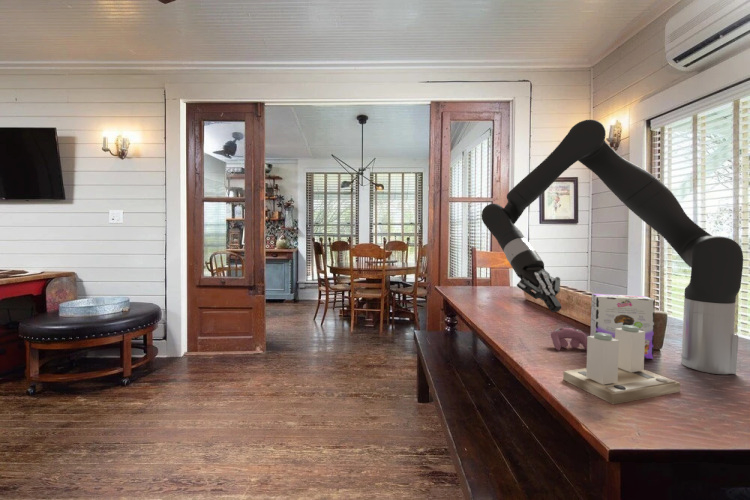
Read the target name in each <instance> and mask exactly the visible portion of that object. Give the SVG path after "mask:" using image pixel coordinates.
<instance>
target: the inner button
mask: <svg viewBox="0 0 750 500" xmlns="http://www.w3.org/2000/svg"><path fill="white" fill-rule="evenodd" d="M615 339H617V340H619V355H618V368H620V369H623V370H626V371H628V372H637V371H644V370H645V369H644V367H645V358H644V350H645V332H644V331H640V330H639V327H636V326H631V325H622V328H616V329H615Z"/></svg>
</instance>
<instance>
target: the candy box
mask: <svg viewBox="0 0 750 500" xmlns="http://www.w3.org/2000/svg"><path fill="white" fill-rule="evenodd" d="M655 300H656V299H654V298H653V297H649V296H647V295H629V294H628V295H627V294H612V293H611V294H607V293H591V303H590V304H591V307H590V330H589V331H590V333H589V334H590V335H589V336H594V333H597V332H599V333H607V334H610V335H612V338H613V339H615V329H616V328H622V325H631V326H636V327H639V330H640V331H644V332H645V350H644V359H650V360H653V359H654V344H655V343H654V341H655V339H654V335H655V334H654V333H655V308H656V306H655V305H656V304H655V303H656V301H655Z"/></svg>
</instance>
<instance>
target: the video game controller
mask: <svg viewBox="0 0 750 500" xmlns="http://www.w3.org/2000/svg"><path fill="white" fill-rule="evenodd" d="M550 338H551V341H552V344H553V347H554V348H555V350H557V351H558V352H559V351H560V350H561V348H563V349H564V348H567V347H568V346H570V347H571V348H572V349H578V348H579V347H580V345H582V347H583V348H584V349H585V351H587V338H588V336H586V333H584V332H583V331H582V330H581V329H576V328H573V327H561V328H557V329H554V330H553V331H551V333H550ZM566 339H571V340H570V342H568V340H566Z"/></svg>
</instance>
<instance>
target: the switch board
mask: <svg viewBox="0 0 750 500" xmlns="http://www.w3.org/2000/svg"><path fill="white" fill-rule="evenodd" d="M563 381H566V382H567V383H569V384H572V385H573V386H575V387H577V388H579V389H581V390H584V391H586V392H588V393H589V394H592V395H593V396H595V397H598V398H600V399H601V400H602V401H603V400H604V402H608V403H609V404H612V405H616V404H622V403H627V402H628V403H629V402H633V401H638V400H639V401H640V400H643V399H648V398H655V397H659V396H665V394H666V395H670V394H676V393H680V392H681V382H679V381H677V380H675V379H674V380H673V379H671V378H669V377H665V376H663V375H659V374H657V373H654V372H652V371H649V370H646V369H644V371H637V372H628V371H626V370H623V369H620V368H618V380H617V382H616V383H610V384H604V385H603V384H601V383H598V382H596V381H594V380H592V379H589V378H587V377H586V367H584V368H576V369H570V370H563Z"/></svg>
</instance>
